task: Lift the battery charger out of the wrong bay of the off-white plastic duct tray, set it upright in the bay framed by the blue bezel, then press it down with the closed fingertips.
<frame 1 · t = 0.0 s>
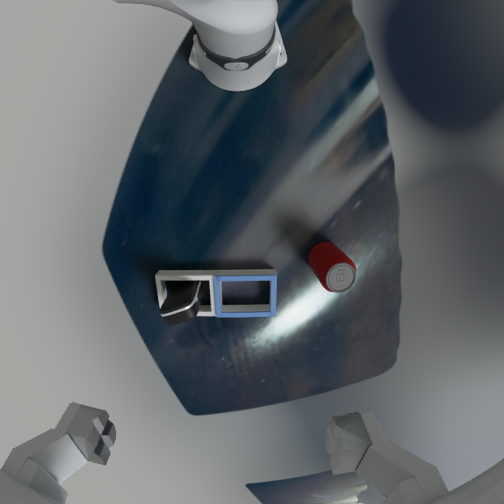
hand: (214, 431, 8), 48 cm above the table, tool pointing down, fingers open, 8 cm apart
battery charger: (188, 289, 59), resting in duct tray
beverage can: (323, 256, 58), on the table
duct tray: (216, 290, 59), on the table
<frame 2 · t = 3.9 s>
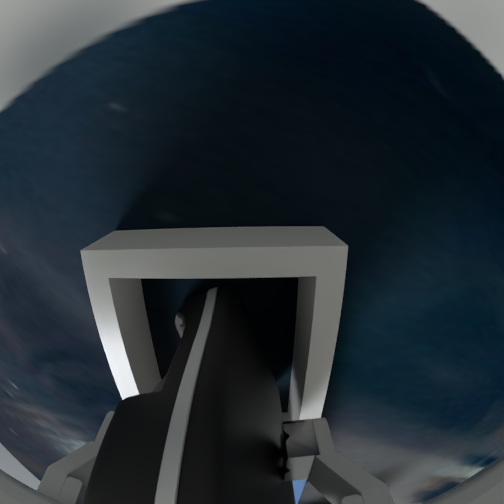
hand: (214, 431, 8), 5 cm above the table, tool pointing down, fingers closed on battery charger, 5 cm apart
battery charger: (222, 347, 13), resting in duct tray, touching gripper
duct tray: (228, 423, 15), on the table
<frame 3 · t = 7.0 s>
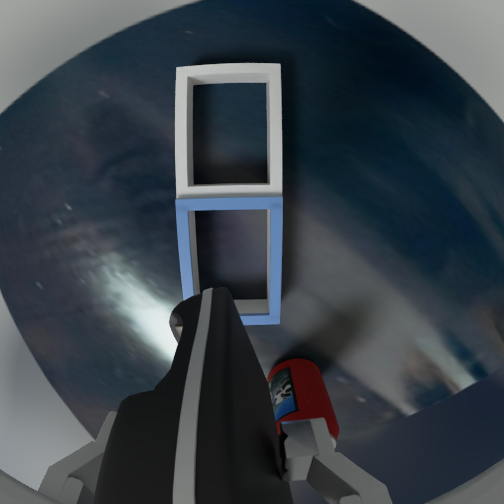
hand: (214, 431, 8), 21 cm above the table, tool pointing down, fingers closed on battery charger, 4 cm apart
battery charger: (214, 347, 14), point 15 cm above the table, touching gripper
beverage can: (292, 373, 33), on the table
duct tray: (230, 193, 27), on the table
when the fingers open (7 cm above the table, at t = 10.0 s): battery charger drops 1 cm, resting in duct tray.
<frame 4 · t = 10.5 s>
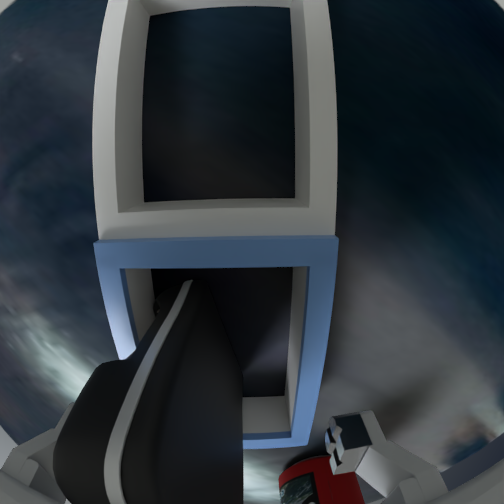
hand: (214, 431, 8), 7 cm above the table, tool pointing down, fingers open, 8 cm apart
battery charger: (194, 334, 15), resting in duct tray
beverage can: (314, 466, 20), on the table
duct tray: (218, 220, 13), on the table
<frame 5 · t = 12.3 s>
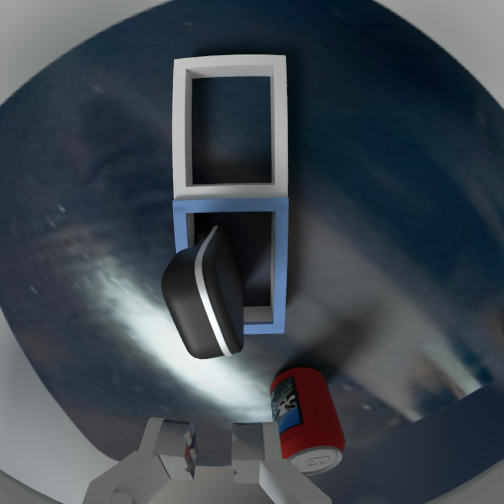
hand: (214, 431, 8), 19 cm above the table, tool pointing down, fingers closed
battery charger: (215, 260, 27), resting in duct tray
beverage can: (296, 382, 32), on the table
duct tray: (231, 194, 25), on the table
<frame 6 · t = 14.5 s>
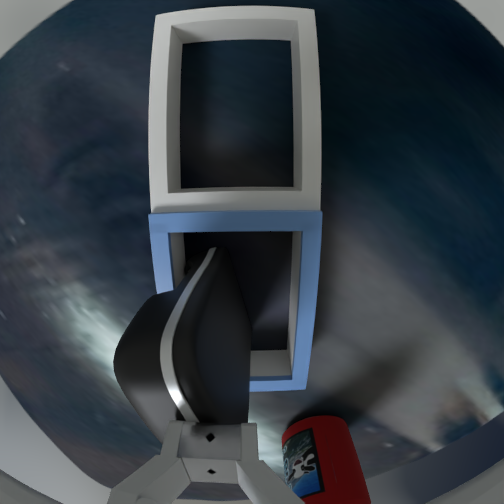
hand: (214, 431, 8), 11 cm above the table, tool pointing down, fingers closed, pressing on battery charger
battery charger: (214, 293, 20), resting in duct tray, touching gripper
beverage can: (313, 428, 24), on the table
duct tray: (236, 202, 17), on the table
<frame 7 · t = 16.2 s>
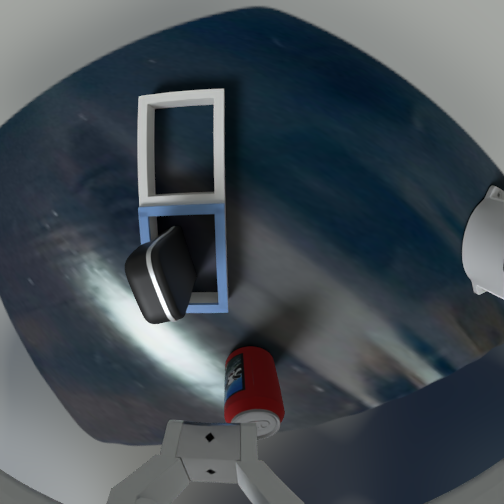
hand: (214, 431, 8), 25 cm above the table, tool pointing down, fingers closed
battery charger: (174, 254, 33), resting in duct tray
beverage can: (249, 361, 38), on the table
duct tray: (185, 201, 31), on the table
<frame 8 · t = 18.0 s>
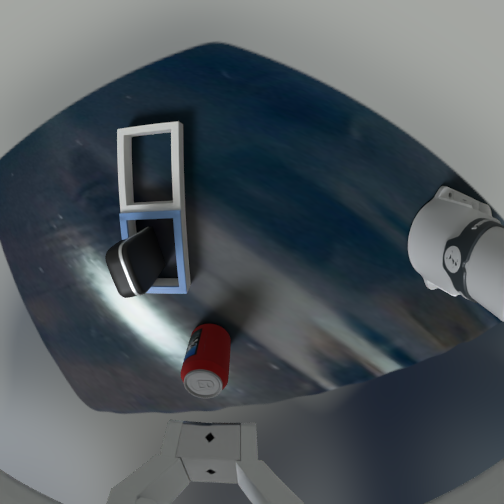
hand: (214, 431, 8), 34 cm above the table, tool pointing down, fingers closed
battery charger: (149, 248, 42), resting in duct tray
beverage can: (211, 337, 47), on the table
duct tray: (155, 208, 40), on the table
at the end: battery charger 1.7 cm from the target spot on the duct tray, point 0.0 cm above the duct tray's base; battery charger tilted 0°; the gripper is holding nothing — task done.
